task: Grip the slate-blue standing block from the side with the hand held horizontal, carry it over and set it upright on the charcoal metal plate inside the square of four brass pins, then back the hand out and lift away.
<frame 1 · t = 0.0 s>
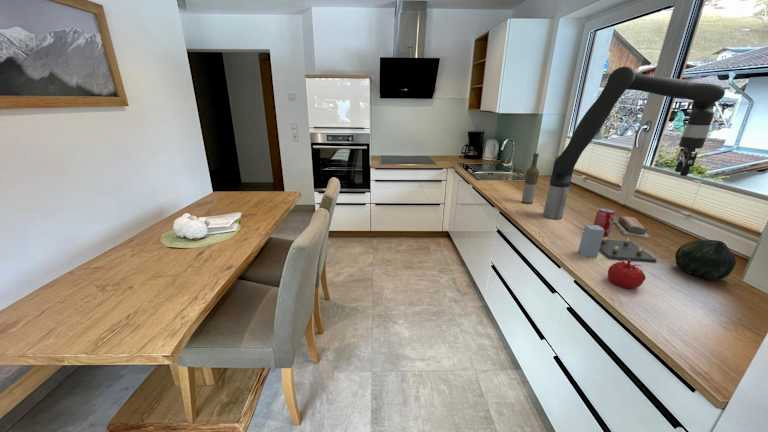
hand: (680, 173, 135), 29 cm above the worktop, tool pointing down, fingers open, 8 cm apart
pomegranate: (622, 284, 106), on the worktop
soda can: (600, 234, 146), on the worktop
block: (587, 254, 126), on the worktop
packaged product: (629, 230, 151), on the worktop
squash: (698, 274, 113), on the worktop
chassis: (619, 250, 129), on the worktop
bottle: (526, 203, 188), on the worktop
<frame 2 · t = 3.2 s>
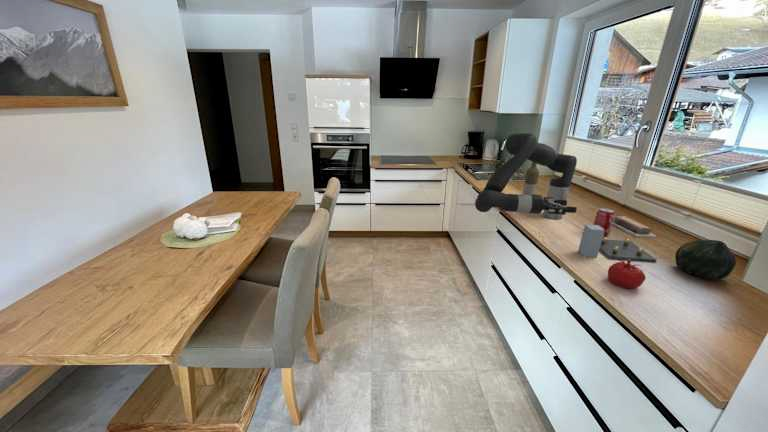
hand: (571, 206, 120), 20 cm above the worktop, tool horizontal, fingers open, 8 cm apart
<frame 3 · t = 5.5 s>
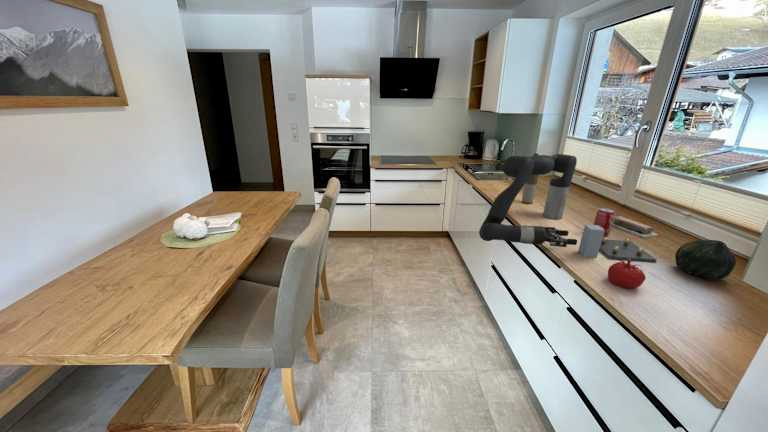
hand: (572, 237, 124), 7 cm above the worktop, tool horizontal, fingers open, 8 cm apart
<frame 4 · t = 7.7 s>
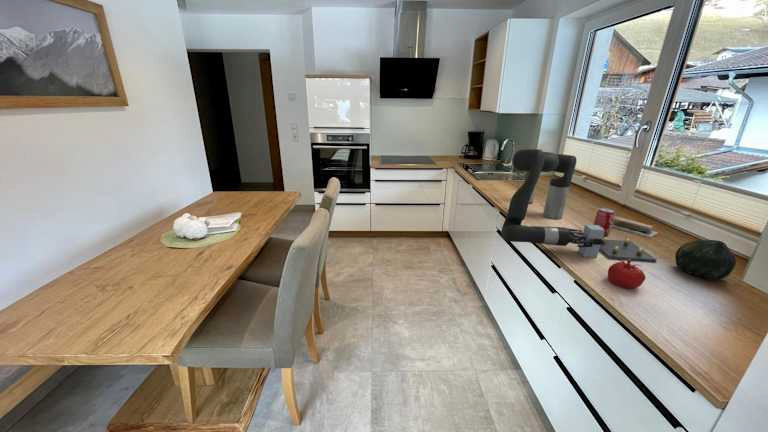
hand: (598, 239, 123), 7 cm above the worktop, tool horizontal, fingers closed on block, 5 cm apart
block: (587, 254, 126), on the worktop, touching gripper
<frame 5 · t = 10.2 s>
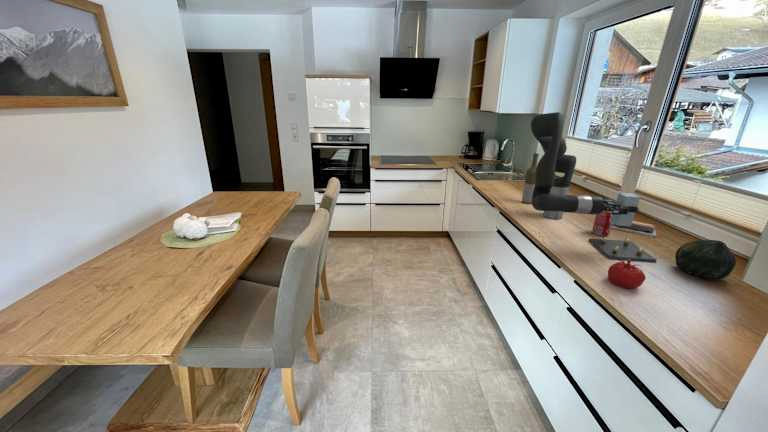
hand: (632, 207, 121), 20 cm above the worktop, tool horizontal, fingers closed on block, 5 cm apart
block: (620, 223, 124), point 13 cm above the worktop, touching gripper
when the fingers open (10 cm above the worktop, at t = 12.9 s): block drops 1 cm, resting on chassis.
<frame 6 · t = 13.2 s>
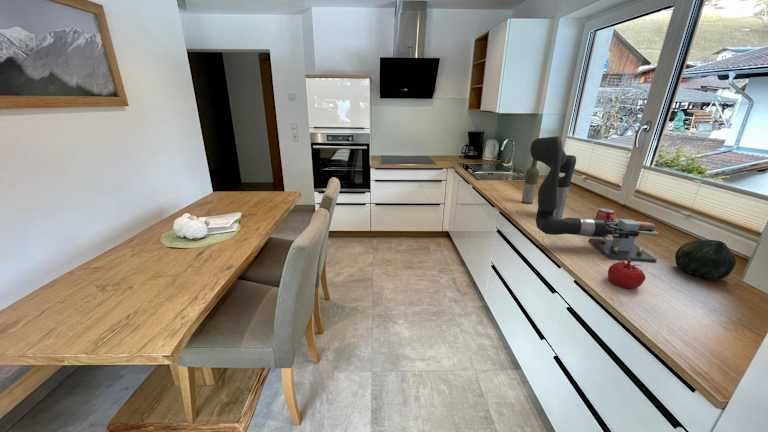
hand: (632, 230, 125), 10 cm above the worktop, tool horizontal, fingers open, 7 cm apart
block: (620, 248, 129), point 1 cm above the worktop, touching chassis
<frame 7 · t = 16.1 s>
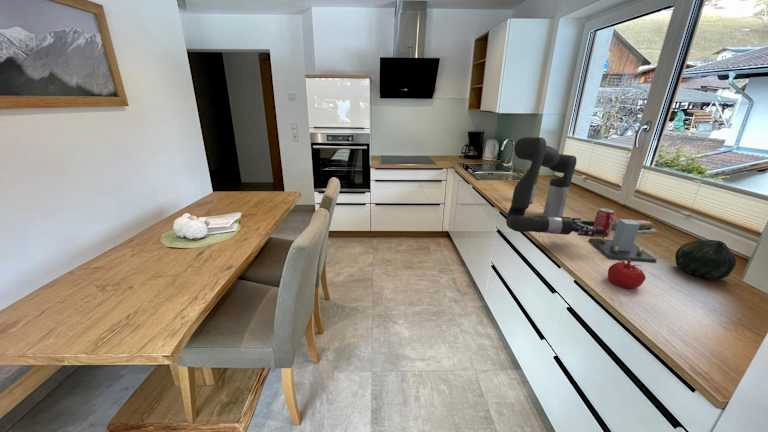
hand: (598, 227, 127), 10 cm above the worktop, tool horizontal, fingers open, 8 cm apart
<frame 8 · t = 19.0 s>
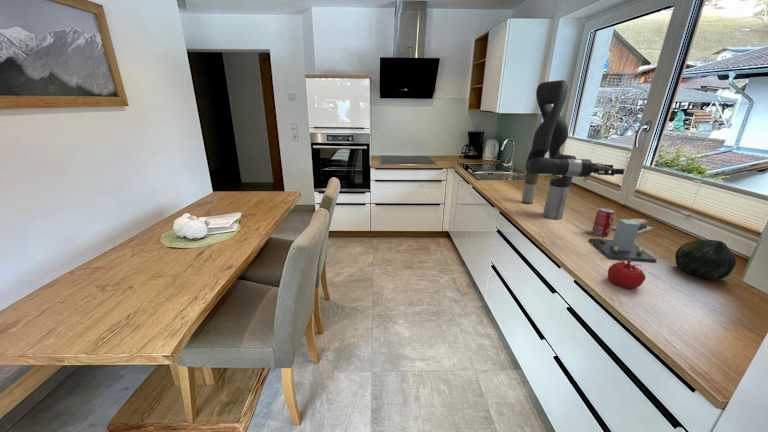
hand: (617, 169, 129), 32 cm above the worktop, tool horizontal, fingers open, 8 cm apart
at the end: block 0.0 cm from the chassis (horizontally); block point 1.2 cm above the worktop; block tilted 0° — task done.
